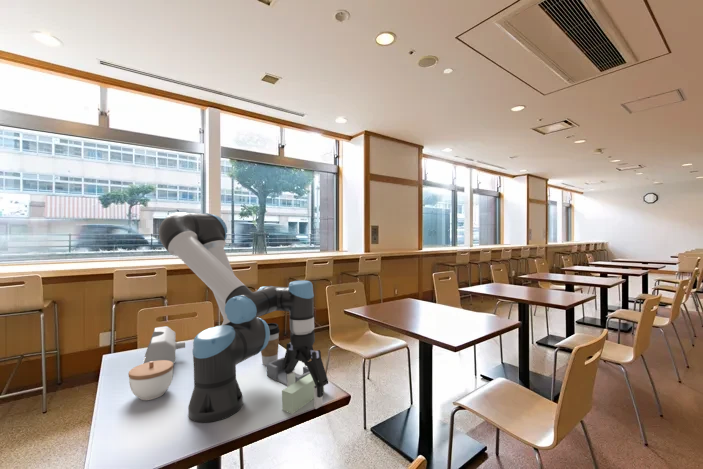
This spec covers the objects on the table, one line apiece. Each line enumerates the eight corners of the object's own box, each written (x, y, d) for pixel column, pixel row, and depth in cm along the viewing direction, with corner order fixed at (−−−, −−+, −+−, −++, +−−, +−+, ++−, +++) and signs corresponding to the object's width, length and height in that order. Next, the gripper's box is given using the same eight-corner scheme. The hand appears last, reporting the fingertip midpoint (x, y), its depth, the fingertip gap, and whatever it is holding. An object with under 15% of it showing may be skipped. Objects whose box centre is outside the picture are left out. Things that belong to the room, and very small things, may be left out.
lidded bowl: (179, 394, 107) (178, 360, 107) (134, 409, 98) (133, 373, 98) (167, 382, 116) (166, 351, 116) (125, 395, 107) (124, 362, 107)
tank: (186, 369, 127) (185, 337, 127) (137, 379, 119) (136, 345, 119) (185, 349, 149) (184, 322, 149) (144, 357, 141) (143, 328, 141)
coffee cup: (283, 358, 135) (282, 322, 135) (276, 367, 126) (275, 328, 126) (263, 358, 136) (262, 322, 136) (255, 366, 127) (254, 328, 127)
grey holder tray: (298, 391, 106) (298, 377, 106) (266, 375, 119) (266, 363, 119) (315, 383, 112) (315, 370, 112) (283, 369, 124) (283, 357, 124)
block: (292, 414, 93) (291, 393, 93) (282, 410, 95) (281, 390, 95) (323, 391, 106) (323, 373, 106) (314, 389, 108) (313, 371, 108)
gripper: (338, 335, 95) (341, 408, 95) (288, 321, 112) (290, 383, 112) (319, 342, 89) (322, 419, 90) (269, 326, 106) (271, 391, 106)
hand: (304, 399), depth 101 cm, fingers open, 12 cm apart
